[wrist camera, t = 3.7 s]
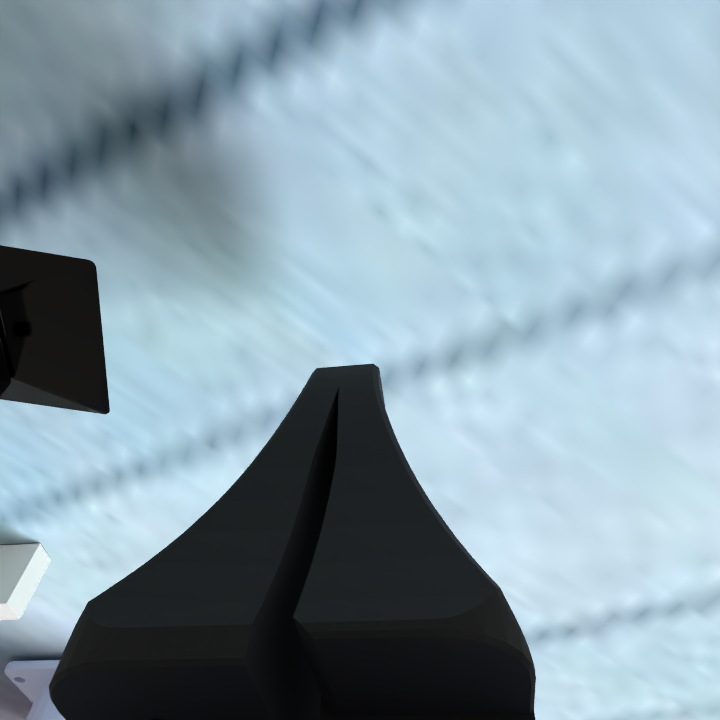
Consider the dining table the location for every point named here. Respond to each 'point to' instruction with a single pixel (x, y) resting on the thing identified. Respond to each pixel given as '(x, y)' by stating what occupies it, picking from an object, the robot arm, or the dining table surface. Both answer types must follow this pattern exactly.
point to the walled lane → (20, 577)
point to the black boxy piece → (51, 331)
